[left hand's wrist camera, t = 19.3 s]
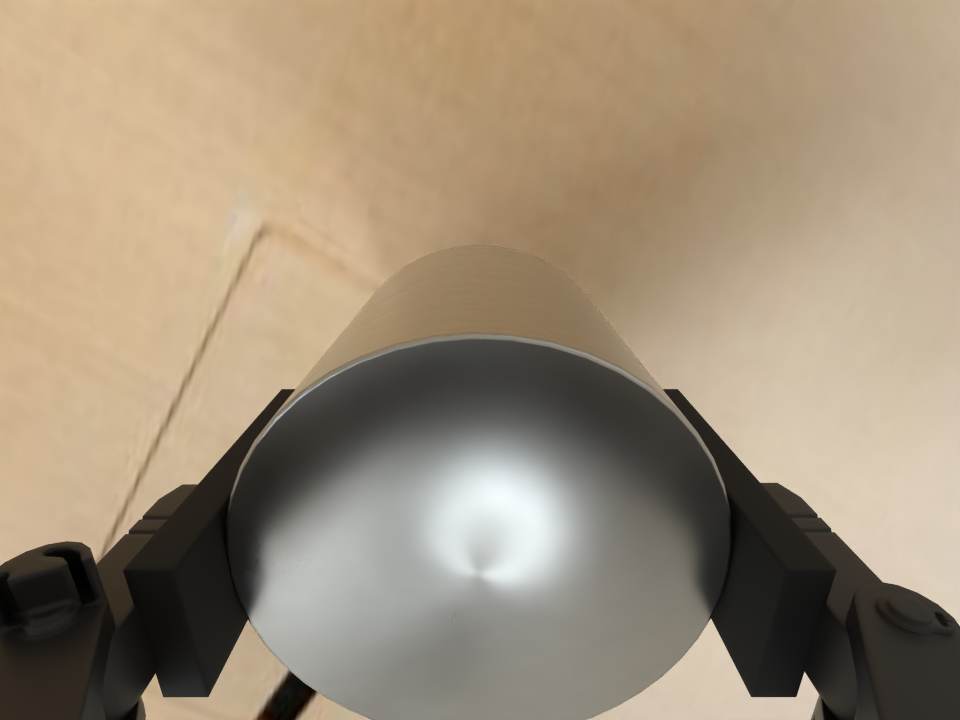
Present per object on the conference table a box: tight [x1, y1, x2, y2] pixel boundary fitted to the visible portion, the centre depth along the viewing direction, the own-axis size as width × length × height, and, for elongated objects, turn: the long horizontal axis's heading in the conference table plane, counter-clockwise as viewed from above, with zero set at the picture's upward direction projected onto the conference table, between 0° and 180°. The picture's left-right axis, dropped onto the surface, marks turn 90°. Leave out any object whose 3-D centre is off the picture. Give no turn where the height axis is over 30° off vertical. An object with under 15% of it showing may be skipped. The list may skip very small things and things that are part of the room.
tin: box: [226, 245, 732, 720], centre depth 13 cm, size 9×9×9 cm
